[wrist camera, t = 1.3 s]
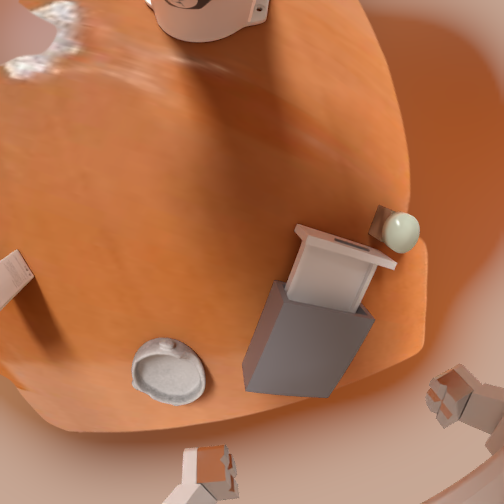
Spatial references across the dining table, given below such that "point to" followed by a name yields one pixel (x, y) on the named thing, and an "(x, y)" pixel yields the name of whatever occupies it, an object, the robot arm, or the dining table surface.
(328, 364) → the grey drawer cabinet
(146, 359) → the dish
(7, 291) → the skincare box
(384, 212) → the walnut block
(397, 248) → the pale green disc
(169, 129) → the dining table surface
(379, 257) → the white drawer
